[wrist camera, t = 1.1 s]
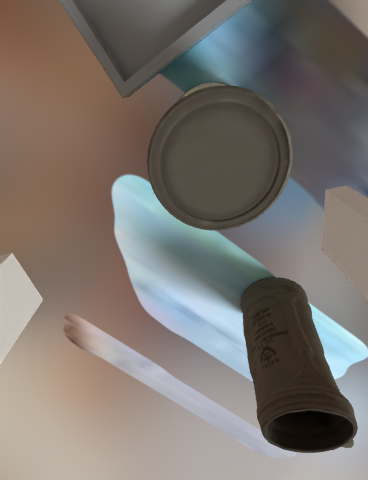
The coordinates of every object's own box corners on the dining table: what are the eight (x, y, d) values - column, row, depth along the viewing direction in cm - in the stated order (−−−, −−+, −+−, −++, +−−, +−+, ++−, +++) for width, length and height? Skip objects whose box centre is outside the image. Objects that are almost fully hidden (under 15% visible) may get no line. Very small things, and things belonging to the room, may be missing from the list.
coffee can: (196, 190, 34) (195, 250, 22) (150, 118, 30) (117, 146, 18) (270, 147, 31) (314, 191, 19) (229, 59, 27) (254, 44, 15)
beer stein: (224, 304, 45) (238, 440, 28) (265, 263, 40) (313, 399, 23) (290, 337, 49) (339, 474, 32) (336, 303, 44) (422, 446, 27)
